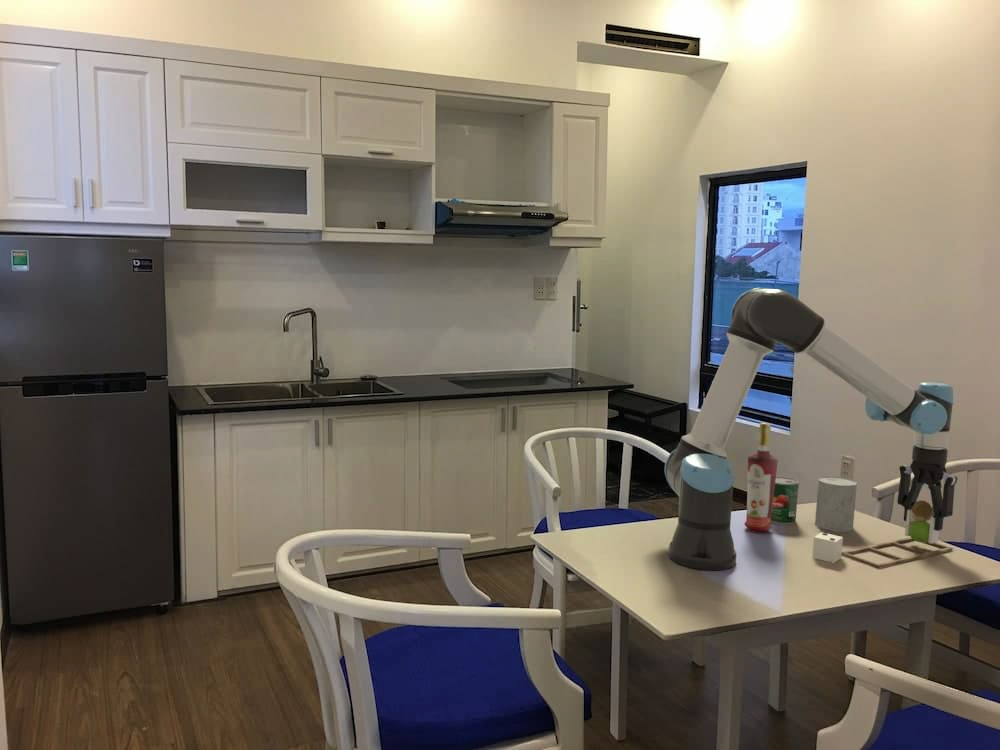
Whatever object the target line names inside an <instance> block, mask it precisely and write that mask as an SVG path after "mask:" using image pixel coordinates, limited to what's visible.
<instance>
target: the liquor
mask: <svg viewBox="0 0 1000 750" xmlns="http://www.w3.org/2000/svg"><path fill="white" fill-rule="evenodd" d="M771 426H772V425H771V423H768V422H760V423H759V430H758V431H759V435H760V436H759V438H758V439H759V440H758V445H757V451H756V452H755V453H752V454H750V455H749V456H748V457H747V477H746V478H747V479H746V480H747V482H746V483H747V484H746V485H747V488H746V490H747V493H746V494H747V496H746V497H747V499H746V520H745V522H744V523H743V524H744V526H745V527H746V528H747V529H748V531H750V532H752V533H757V534H764V533H767V532H769V531H770V530H771V529H772V528H773V525H772V522H771V513H772V503H773V495H774V488H775V481H776V477H777V473H778V472H777V470H778V464H779V463H778V462H779V460H778V459H777V457H775V456H774V455H772V454H770V434H771Z"/></svg>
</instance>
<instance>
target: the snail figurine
mask: <svg viewBox="0 0 1000 750" xmlns="http://www.w3.org/2000/svg"><path fill="white" fill-rule="evenodd" d="M912 512H913V514H914V515H915V516H912V518H913V519H914V520H916V521H914V522H912V523H911V524H910V526H909V535H910V536H909V537H911V538H912V539H913V540H912V541H915V542H918V543H924V542H927V541H928V539H929V529H930V522H928V521H930V519H931V517H932V516H934V511H933V505H932V506H931V504H930V503H929V502H928V501H926V500H917V501H916V503H915V504H914V505H913V507H912Z"/></svg>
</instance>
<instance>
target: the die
mask: <svg viewBox="0 0 1000 750" xmlns="http://www.w3.org/2000/svg"><path fill="white" fill-rule="evenodd" d="M843 539H844V536H841V535H840V536H838V535H836V534H831V533H827V532H823V531H822V532H820V533H818V534H816V535H815V536H814V537H813V542H812V543H813V546H812V555H811V556H812V558H813V559H815V560H820V561H825V562H828V563H833V564H835V563H837V561H840V559H842V556H843V555H842V552H843V543H844V540H843Z"/></svg>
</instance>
